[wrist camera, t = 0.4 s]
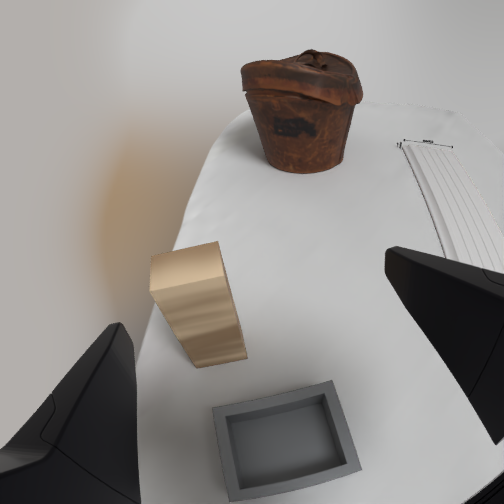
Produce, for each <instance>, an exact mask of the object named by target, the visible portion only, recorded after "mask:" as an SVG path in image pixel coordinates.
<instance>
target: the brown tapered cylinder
mask: <svg viewBox="0 0 504 504" xmlns="http://www.w3.org/2000/svg"><path fill="white" fill-rule="evenodd" d="M241 75H242V86H243V91H246V92H247V93H246V94H245V96H246V99H247V101H248V104H249V107H250V110H251V113H252V115H253V118H254V121H255V124H256V127H257V130H258V133H259V136H260V139H261V142H262V145H263V149H264V152H265V155H266V158H267V160H268V161H269V163H270V164H271V165H273V166H274V167H276V168H278V169H280V170H284V171H288V172H293V173H314V172H320V171H324V170H327V169H330V168H332V167H334V166H336V165H337V164H339V163H341V162H342V160H343V155H344V149H345V144H346V140H347V136H348V132H349V128H350V125H351V120H352V116H353V112H354V108H355V105H356V104H359V103H360V102H361V100H362V98H363V91H362V86H361V83H360V80H359V77H358V74H357V71H356V69H355V67H354V66H353V64H352V63H351V62H350V61H348V60H347V59H345V58H344V57H341V56H339V55H336V54H332V53H328V52H317V51H316V50H312V49H311V50H307V51H305V52H303V53H301V54H300V55H297V56H293V57H289V58H286V59H282V60H261V61H255V62H251V63H248V64H245V65H244V66H243V67H242V68H241Z"/></svg>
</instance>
